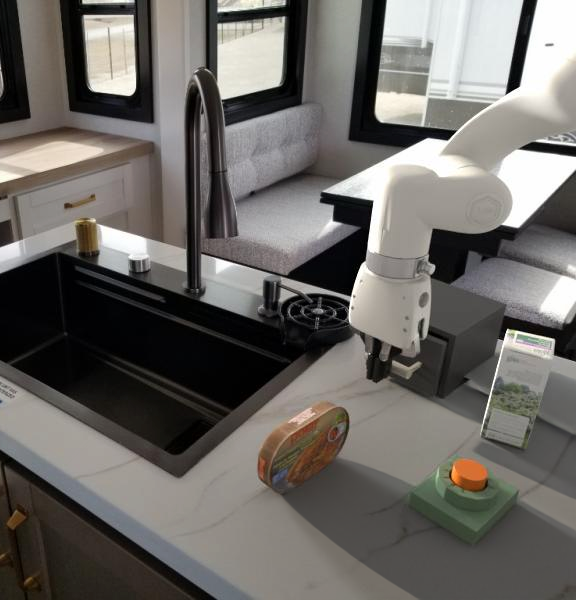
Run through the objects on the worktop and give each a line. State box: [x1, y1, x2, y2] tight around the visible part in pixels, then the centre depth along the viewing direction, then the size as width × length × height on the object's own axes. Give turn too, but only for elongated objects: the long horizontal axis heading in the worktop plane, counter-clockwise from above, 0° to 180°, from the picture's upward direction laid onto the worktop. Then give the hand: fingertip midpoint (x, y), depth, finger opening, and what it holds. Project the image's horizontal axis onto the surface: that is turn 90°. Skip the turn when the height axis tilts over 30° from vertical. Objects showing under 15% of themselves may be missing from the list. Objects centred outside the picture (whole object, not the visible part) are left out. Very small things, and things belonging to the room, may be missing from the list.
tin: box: [256, 400, 350, 495], centre depth 79 cm, size 15×3×8 cm, turn 129°
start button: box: [451, 458, 488, 492], centre depth 73 cm, size 4×4×2 cm
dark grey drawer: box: [364, 330, 449, 398], centre depth 97 cm, size 18×12×9 cm, turn 130°
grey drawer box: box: [428, 277, 508, 400], centre depth 100 cm, size 15×13×11 cm
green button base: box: [407, 454, 520, 547], centre depth 74 cm, size 10×8×4 cm
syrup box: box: [479, 328, 556, 450], centre depth 84 cm, size 6×6×14 cm
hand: (377, 377), depth 92 cm, fingers closed
